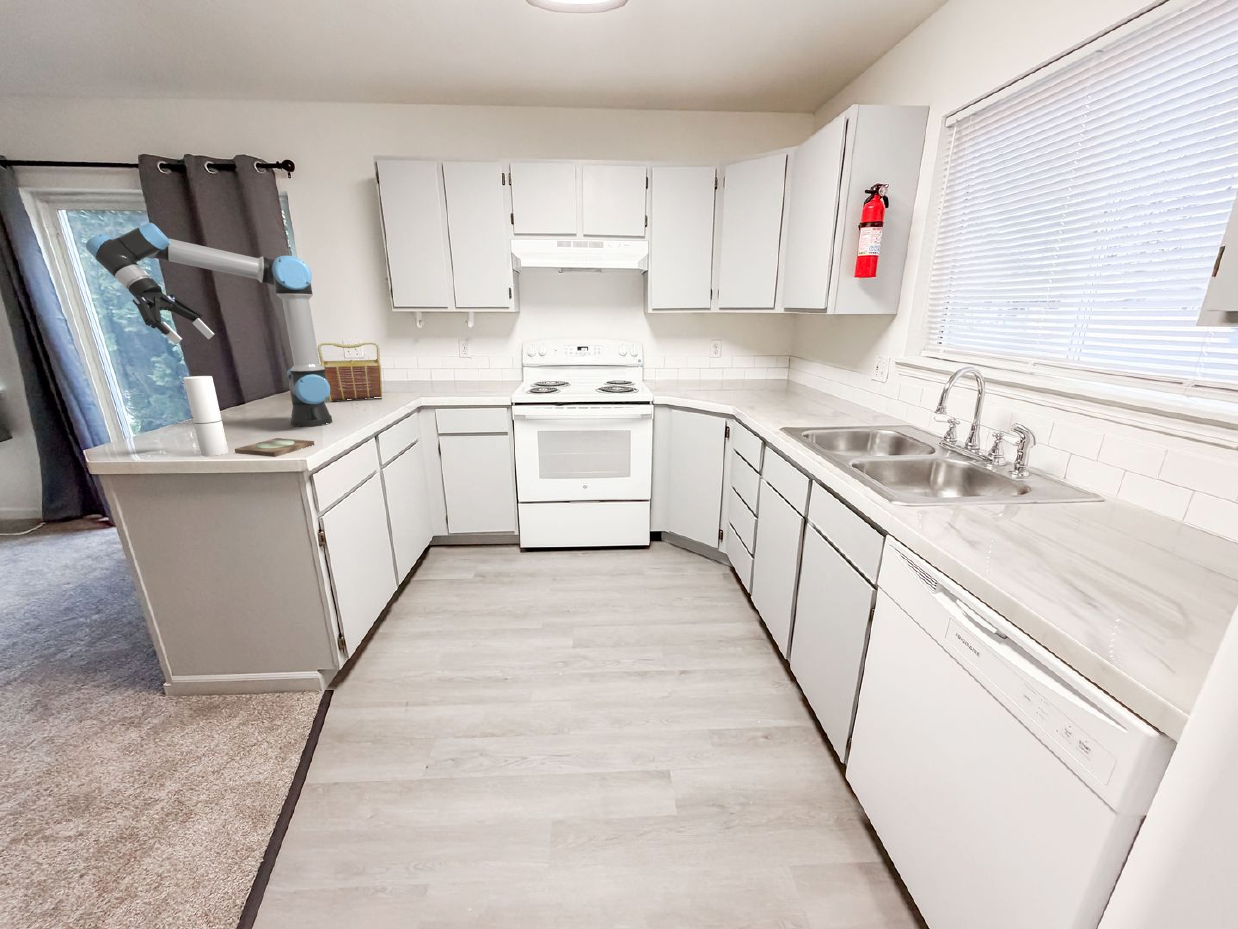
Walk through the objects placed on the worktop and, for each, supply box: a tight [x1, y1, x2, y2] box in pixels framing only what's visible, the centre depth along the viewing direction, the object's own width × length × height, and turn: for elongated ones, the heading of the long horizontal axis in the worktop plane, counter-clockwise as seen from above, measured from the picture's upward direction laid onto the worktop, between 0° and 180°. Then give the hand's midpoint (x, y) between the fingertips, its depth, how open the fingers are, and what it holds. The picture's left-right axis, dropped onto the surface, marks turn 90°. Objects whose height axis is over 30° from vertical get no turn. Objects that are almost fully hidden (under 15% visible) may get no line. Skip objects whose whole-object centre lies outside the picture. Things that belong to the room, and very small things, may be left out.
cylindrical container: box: [182, 375, 230, 457], centre depth 161 cm, size 7×7×25 cm
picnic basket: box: [317, 342, 383, 402], centre depth 270 cm, size 29×26×30 cm
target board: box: [234, 437, 315, 458], centre depth 171 cm, size 16×16×2 cm
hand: (195, 339), depth 165 cm, fingers open, 13 cm apart
